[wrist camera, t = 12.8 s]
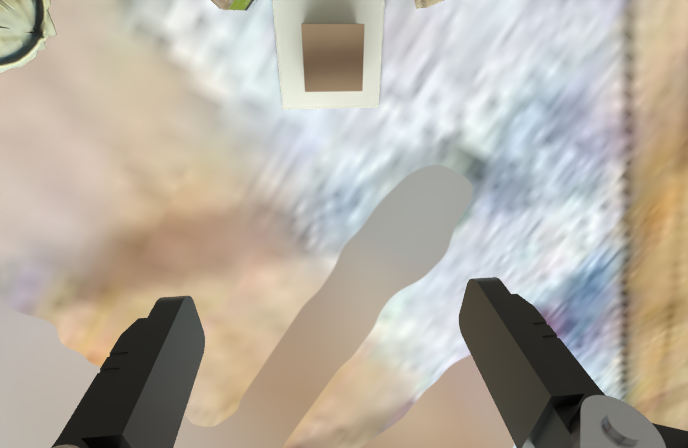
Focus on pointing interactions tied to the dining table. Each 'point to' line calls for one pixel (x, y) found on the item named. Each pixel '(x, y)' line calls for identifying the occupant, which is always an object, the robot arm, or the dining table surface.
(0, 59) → the decorative vase
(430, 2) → the maple block
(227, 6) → the tea box
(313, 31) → the walnut cube
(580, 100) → the dining table surface
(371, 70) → the plate
